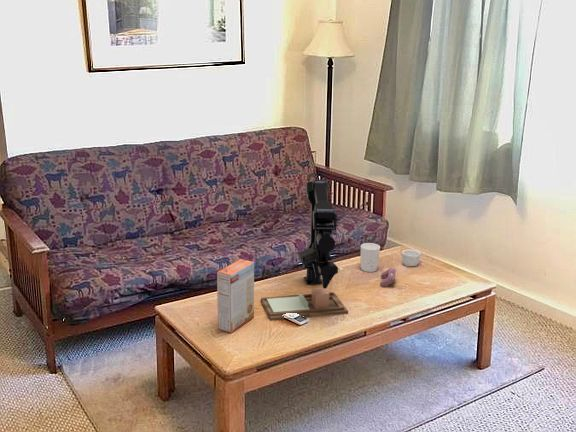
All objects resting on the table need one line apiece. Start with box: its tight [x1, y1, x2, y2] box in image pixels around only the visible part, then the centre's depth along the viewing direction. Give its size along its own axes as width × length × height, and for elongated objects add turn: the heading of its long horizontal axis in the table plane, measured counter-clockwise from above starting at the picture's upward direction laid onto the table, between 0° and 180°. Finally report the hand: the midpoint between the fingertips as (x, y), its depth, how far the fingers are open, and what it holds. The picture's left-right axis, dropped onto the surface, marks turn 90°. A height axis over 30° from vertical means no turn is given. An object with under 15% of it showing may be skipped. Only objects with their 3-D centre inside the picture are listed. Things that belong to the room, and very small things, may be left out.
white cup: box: [360, 242, 381, 273], centre depth 280 cm, size 8×8×10 cm
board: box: [260, 291, 349, 321], centre depth 245 cm, size 16×28×2 cm, turn 104°
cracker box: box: [216, 258, 255, 334], centre depth 228 cm, size 14×6×21 cm, turn 150°
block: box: [311, 287, 329, 309], centre depth 246 cm, size 5×5×6 cm
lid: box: [267, 293, 310, 313], centre depth 243 cm, size 11×13×2 cm
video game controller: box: [379, 267, 397, 288], centre depth 268 cm, size 10×5×7 cm, turn 171°
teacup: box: [401, 249, 422, 267], centre depth 287 cm, size 10×8×5 cm
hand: (320, 283), depth 244 cm, fingers open, 9 cm apart
